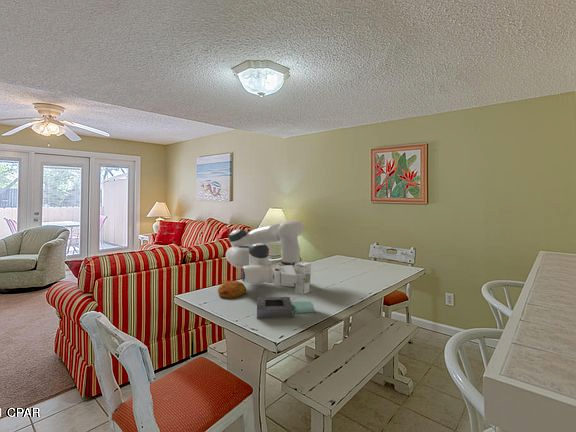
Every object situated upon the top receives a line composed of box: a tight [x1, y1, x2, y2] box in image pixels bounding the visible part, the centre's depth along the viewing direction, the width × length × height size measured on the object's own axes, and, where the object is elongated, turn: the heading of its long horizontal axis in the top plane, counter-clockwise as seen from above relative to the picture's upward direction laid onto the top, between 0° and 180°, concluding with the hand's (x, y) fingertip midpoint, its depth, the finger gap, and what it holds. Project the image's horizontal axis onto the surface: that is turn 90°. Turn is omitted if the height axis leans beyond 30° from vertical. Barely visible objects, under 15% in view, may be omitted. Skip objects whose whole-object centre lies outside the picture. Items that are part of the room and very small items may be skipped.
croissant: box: [217, 280, 247, 299], centre depth 167 cm, size 14×16×8 cm
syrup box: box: [293, 261, 312, 296], centre depth 148 cm, size 6×6×14 cm
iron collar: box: [256, 296, 294, 320], centre depth 143 cm, size 16×16×4 cm
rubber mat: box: [291, 300, 316, 314], centre depth 149 cm, size 14×10×1 cm
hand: (304, 273), depth 147 cm, fingers closed on syrup box, 8 cm apart
